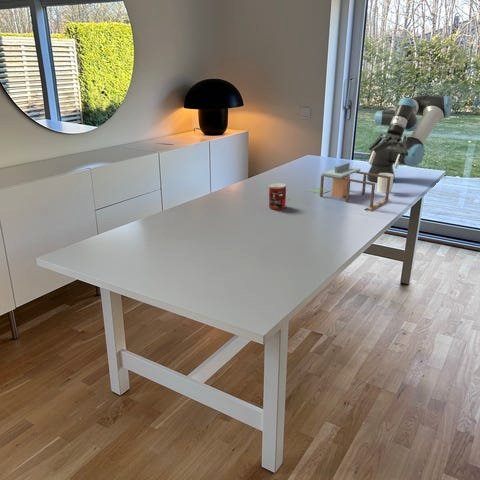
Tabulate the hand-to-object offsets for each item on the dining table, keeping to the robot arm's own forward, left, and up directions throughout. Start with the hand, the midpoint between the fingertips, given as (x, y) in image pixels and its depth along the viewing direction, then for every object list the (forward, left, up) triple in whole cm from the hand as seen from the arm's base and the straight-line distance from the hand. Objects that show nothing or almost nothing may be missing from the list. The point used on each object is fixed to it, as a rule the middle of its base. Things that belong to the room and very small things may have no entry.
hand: (382, 165), depth 234 cm
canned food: (+50, -27, -16) cm, 59 cm away
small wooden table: (+17, -10, -15) cm, 25 cm away
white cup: (-4, +1, -16) cm, 16 cm away
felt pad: (+17, -25, -14) cm, 33 cm away
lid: (+17, -13, -3) cm, 22 cm away
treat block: (+17, -13, -14) cm, 26 cm away
